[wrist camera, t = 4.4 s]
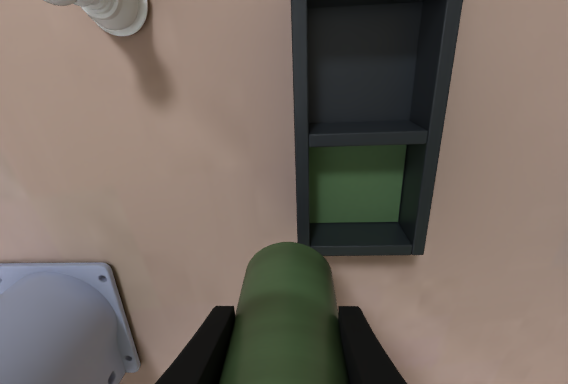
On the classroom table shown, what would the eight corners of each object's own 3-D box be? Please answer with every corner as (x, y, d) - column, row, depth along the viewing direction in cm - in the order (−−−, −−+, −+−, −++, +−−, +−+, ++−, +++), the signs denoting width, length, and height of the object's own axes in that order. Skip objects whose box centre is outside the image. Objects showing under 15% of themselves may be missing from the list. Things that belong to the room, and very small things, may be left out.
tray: (435, -13, 14) (468, -32, 11) (405, 226, 18) (423, 255, 15) (291, -6, 14) (290, -21, 11) (298, 228, 18) (297, 256, 16)
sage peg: (332, 310, 14) (357, 482, 8) (250, 313, 14) (220, 482, 8) (331, 239, 12) (360, 387, 7) (240, 243, 12) (195, 389, 7)
